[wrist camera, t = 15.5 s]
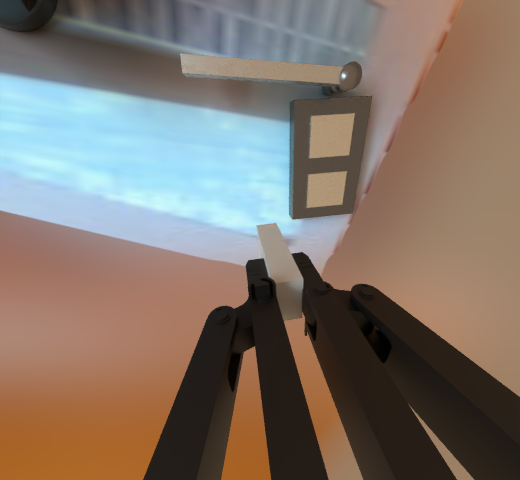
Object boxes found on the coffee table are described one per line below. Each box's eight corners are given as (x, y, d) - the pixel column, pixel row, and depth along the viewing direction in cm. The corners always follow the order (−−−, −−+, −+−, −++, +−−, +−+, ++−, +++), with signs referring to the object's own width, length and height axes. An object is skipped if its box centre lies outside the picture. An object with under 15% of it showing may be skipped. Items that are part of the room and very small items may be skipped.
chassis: (290, 80, 36) (299, 72, 31) (365, 77, 37) (385, 68, 32) (289, 214, 48) (295, 223, 43) (346, 208, 49) (358, 217, 44)
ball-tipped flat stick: (355, 67, 31) (364, 62, 29) (350, 92, 33) (358, 89, 31) (183, 53, 28) (179, 46, 26) (186, 82, 30) (182, 77, 27)
